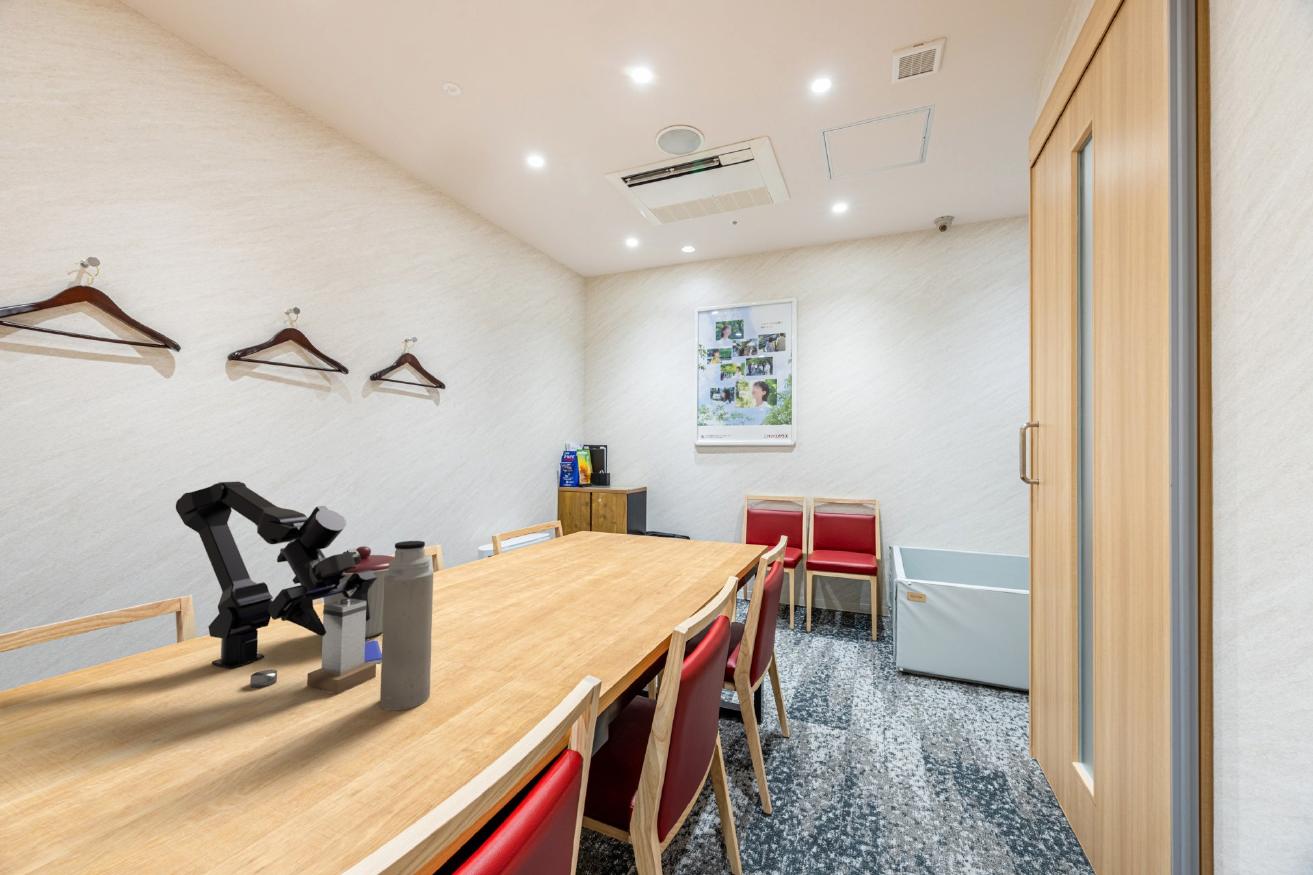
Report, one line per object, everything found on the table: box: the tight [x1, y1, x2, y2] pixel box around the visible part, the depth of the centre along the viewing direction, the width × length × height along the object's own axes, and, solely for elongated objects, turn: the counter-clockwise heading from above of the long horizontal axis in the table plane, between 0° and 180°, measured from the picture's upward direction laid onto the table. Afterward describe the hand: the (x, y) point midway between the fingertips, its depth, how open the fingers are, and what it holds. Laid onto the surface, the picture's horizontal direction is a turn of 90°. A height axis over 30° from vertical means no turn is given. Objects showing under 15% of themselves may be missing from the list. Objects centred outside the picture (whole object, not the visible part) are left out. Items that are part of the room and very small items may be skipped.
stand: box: [306, 661, 377, 695], centre depth 97 cm, size 8×8×2 cm
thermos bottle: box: [379, 540, 434, 711], centre depth 91 cm, size 8×8×28 cm
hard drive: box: [364, 640, 382, 665], centre depth 110 cm, size 2×8×12 cm
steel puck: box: [249, 669, 278, 689], centre depth 96 cm, size 4×4×2 cm
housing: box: [320, 598, 367, 676], centre depth 98 cm, size 5×5×13 cm
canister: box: [323, 545, 395, 639], centre depth 125 cm, size 18×18×21 cm
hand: (347, 627), depth 98 cm, fingers open, 9 cm apart
